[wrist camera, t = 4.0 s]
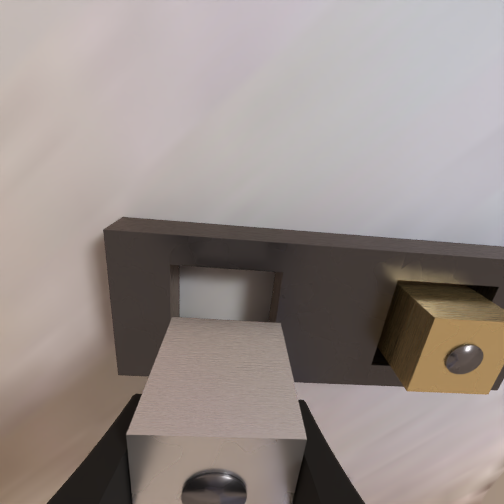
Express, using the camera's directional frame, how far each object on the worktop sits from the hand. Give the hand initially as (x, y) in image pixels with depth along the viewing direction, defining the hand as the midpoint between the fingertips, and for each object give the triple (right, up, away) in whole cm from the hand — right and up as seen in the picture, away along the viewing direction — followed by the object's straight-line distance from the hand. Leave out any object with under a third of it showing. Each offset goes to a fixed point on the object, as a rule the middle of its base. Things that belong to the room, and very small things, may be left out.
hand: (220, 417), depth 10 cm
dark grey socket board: (+5, +3, +8) cm, 10 cm away
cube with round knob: (0, +1, +3) cm, 3 cm away
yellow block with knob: (+11, +2, +9) cm, 15 cm away
